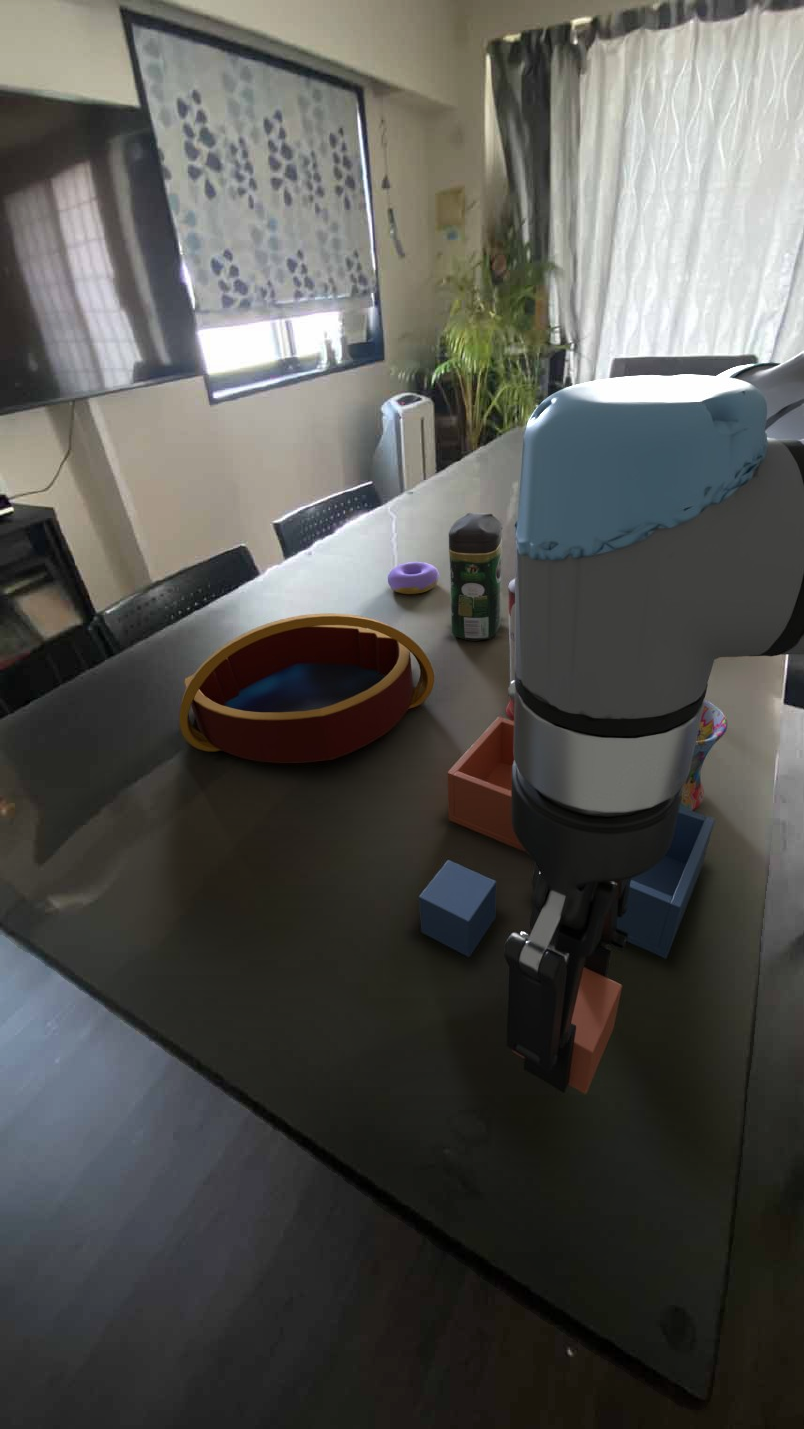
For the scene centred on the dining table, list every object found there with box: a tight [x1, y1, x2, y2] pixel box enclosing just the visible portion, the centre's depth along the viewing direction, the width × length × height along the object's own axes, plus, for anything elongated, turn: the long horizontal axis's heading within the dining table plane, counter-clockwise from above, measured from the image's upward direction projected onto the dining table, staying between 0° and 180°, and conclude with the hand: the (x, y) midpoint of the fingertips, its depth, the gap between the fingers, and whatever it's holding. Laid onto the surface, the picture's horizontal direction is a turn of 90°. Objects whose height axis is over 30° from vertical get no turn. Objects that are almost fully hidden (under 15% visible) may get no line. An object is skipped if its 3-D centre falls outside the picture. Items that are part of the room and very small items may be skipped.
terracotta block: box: [512, 967, 623, 1095], centre depth 41 cm, size 5×5×5 cm
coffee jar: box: [448, 512, 503, 642], centre depth 101 cm, size 10×8×19 cm
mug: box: [680, 699, 728, 811], centre depth 69 cm, size 12×9×11 cm
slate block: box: [418, 859, 497, 958], centre depth 57 cm, size 5×5×5 cm
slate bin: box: [617, 807, 716, 959], centre depth 59 cm, size 12×12×7 cm
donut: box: [387, 561, 440, 595], centre depth 121 cm, size 10×9×5 cm
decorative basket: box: [178, 612, 435, 764], centre depth 84 cm, size 34×29×15 cm
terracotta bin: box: [446, 716, 528, 854], centre depth 69 cm, size 12×12×7 cm
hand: (564, 1037), depth 42 cm, fingers closed on terracotta block, 5 cm apart
